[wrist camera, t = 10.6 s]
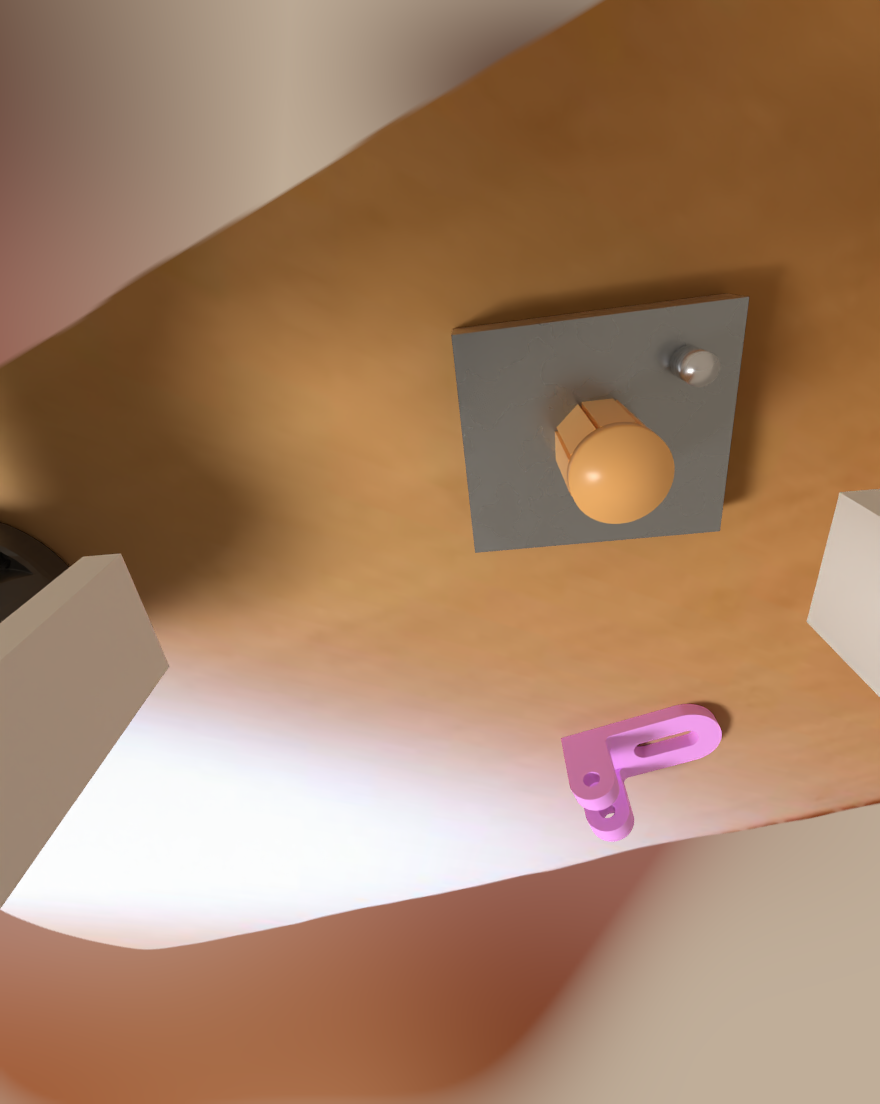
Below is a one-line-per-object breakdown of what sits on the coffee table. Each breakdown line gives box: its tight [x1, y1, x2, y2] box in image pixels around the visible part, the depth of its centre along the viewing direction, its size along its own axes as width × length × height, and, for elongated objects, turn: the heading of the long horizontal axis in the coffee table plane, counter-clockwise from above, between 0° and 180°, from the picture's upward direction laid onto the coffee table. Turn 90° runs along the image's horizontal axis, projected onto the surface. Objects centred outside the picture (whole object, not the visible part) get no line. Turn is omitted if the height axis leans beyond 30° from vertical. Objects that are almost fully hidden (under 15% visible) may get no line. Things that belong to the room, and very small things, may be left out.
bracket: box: [561, 704, 722, 841], centre depth 46 cm, size 13×6×7 cm, turn 115°
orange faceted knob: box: [555, 398, 675, 524], centre depth 31 cm, size 5×5×6 cm
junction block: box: [452, 293, 749, 553], centre depth 33 cm, size 16×14×7 cm
